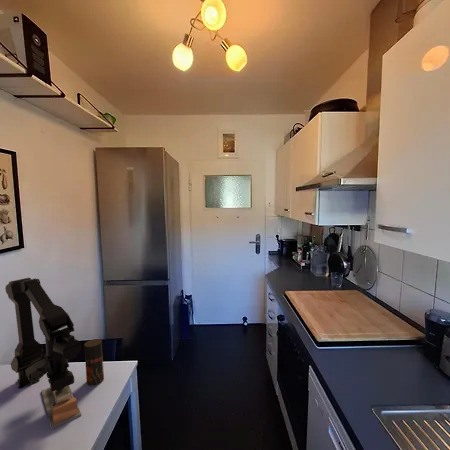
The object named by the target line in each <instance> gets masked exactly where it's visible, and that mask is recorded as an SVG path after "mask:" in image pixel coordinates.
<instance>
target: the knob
mask: <svg viewBox="0 0 450 450" xmlns="http://www.w3.org/2000/svg"><path fill="white" fill-rule="evenodd" d="M72 394H73V393H72ZM72 394H70V392H69V389H68V387H65V388H63V389H60V390H58V391H55V401H53V402H51V407H54V406H57V405H59V404H61V403H64V402H66V401H68V400H71V399H73V398H75V396H74V394H73V395H72ZM73 396H74V397H73Z"/></svg>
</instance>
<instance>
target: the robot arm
mask: <svg viewBox="0 0 450 450" xmlns="http://www.w3.org/2000/svg"><path fill="white" fill-rule="evenodd" d="M5 292H6V294H7V297H8V299H9V300H10V301H11V302H13V304H14V307H15V308H14V309H15V318H16V326H17V334H18V335H17V336H18V343H17V345H16V347H15V349H14V357H13V359H12V360H11V362H10V368H11V370H12V371H13V372H15V373H16V374H17V373H18V379H17V380H16V381H17V388H18V389H21V388H24V387H27V386H29V385H33V384H35V383H37V382H40V380H41V378H43V377H44V376H46V378H47V381H48V383H49V387H50V388H51V391H58V390H60V389H63V388H64V387H66V386H69V387H70V385H73V384H74V383H75V376H74V373H73V372H72V371H71V370H69V367H70V363H69V361H70V360H73V359H74V358H76V357H77V356H78V355H79V354H80V352H81V350H82V345H83V344H82V342H81V341H80V340H78V339H76V337H75V335H73V334H71V333H73V332H75V328H74V326H75V325H74V322H73V321H72V318H71V317H70V315H69V313H68V312H67V311H66V310H65V309H64V308H63V307H62V306H59V305H57V304H55V303H54V302H53V301H52V299H51V297H50V296H49V295H48V294H47V292H46V291H45V289H44V288H43V286H42V285H41V280H40V279H39V278H30V277H25V278H20V279H15V280H11V281H8V284H6V285H5ZM32 306H33V307H34V309H35V310H36V312H37V313H38V314H39V319H38V324H39V329H40V331H41V332H42V335H43V336H44V338H45V340H44V341H45V354H44V349H43V347H42V344H41V343H40V342H39V341H37V339H35V332H34V323H33V322H34V321H33V313H32V312H33V311H32ZM43 357H44V358H43ZM68 360H69V361H68Z"/></svg>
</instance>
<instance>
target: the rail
mask: <svg viewBox="0 0 450 450" xmlns="http://www.w3.org/2000/svg"><path fill="white" fill-rule="evenodd" d="M66 387H68V389H69V392H70V394H72V395H73V397H74V398H73V399H71V400H68V401H66V402H64V403H61V404H59V405H57V406H54V407H51V402H53V401H55V391H51V388H50V386H49V387H47V388H44V389H41V394H42V398H43V402H44V406H45V410H46V413H47V416H48V417H47V418H48V422H49V426H50V429H51V430H54V429H56V428H58V427H60V426H63V425H64V424H66V423H69V422H71V421H73V420H75V419H77V418H80V417H81V416H82V413H81V411H80V408H79V406H78V400H77V397H75V396H74V394H73V392H72V389H71V388H70V385H69V386H66ZM64 388H65V387H64Z"/></svg>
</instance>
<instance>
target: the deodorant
mask: <svg viewBox="0 0 450 450" xmlns="http://www.w3.org/2000/svg"><path fill="white" fill-rule="evenodd" d="M83 347H84V359H85V360H84V361H85V363H84V364H85V377H86V385H87V386H90V387H94V386H98V385H100V384H102V383H103V381H105V374H104V355H103V341H102V339H100V338H94V339H90V340H89V339H88V340H87V341H86V342H85V343H84V346H83Z"/></svg>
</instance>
